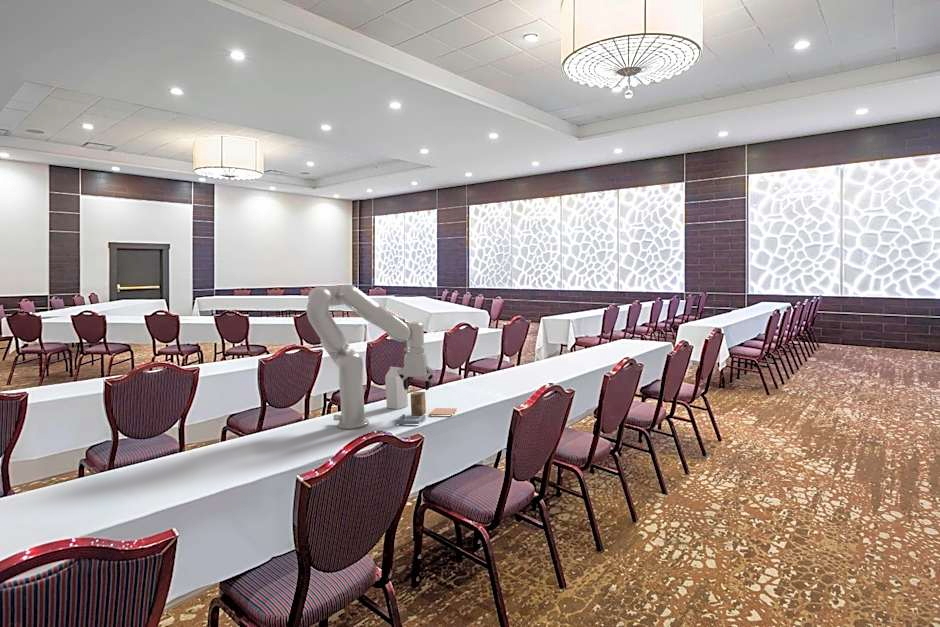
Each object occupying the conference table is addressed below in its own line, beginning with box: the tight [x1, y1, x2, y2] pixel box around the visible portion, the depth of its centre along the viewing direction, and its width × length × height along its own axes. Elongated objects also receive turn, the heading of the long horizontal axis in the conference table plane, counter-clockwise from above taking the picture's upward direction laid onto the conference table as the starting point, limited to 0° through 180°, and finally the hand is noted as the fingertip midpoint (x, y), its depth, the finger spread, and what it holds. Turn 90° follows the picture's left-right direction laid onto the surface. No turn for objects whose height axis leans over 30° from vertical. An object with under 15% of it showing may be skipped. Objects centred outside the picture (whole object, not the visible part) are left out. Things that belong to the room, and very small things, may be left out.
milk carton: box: [384, 366, 409, 410], centre depth 252 cm, size 7×7×19 cm
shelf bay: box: [395, 414, 426, 425], centre depth 227 cm, size 10×9×2 cm
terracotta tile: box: [428, 407, 458, 416], centre depth 239 cm, size 10×10×1 cm
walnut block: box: [410, 391, 427, 417], centre depth 237 cm, size 5×5×10 cm
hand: (416, 389), depth 236 cm, fingers open, 9 cm apart
